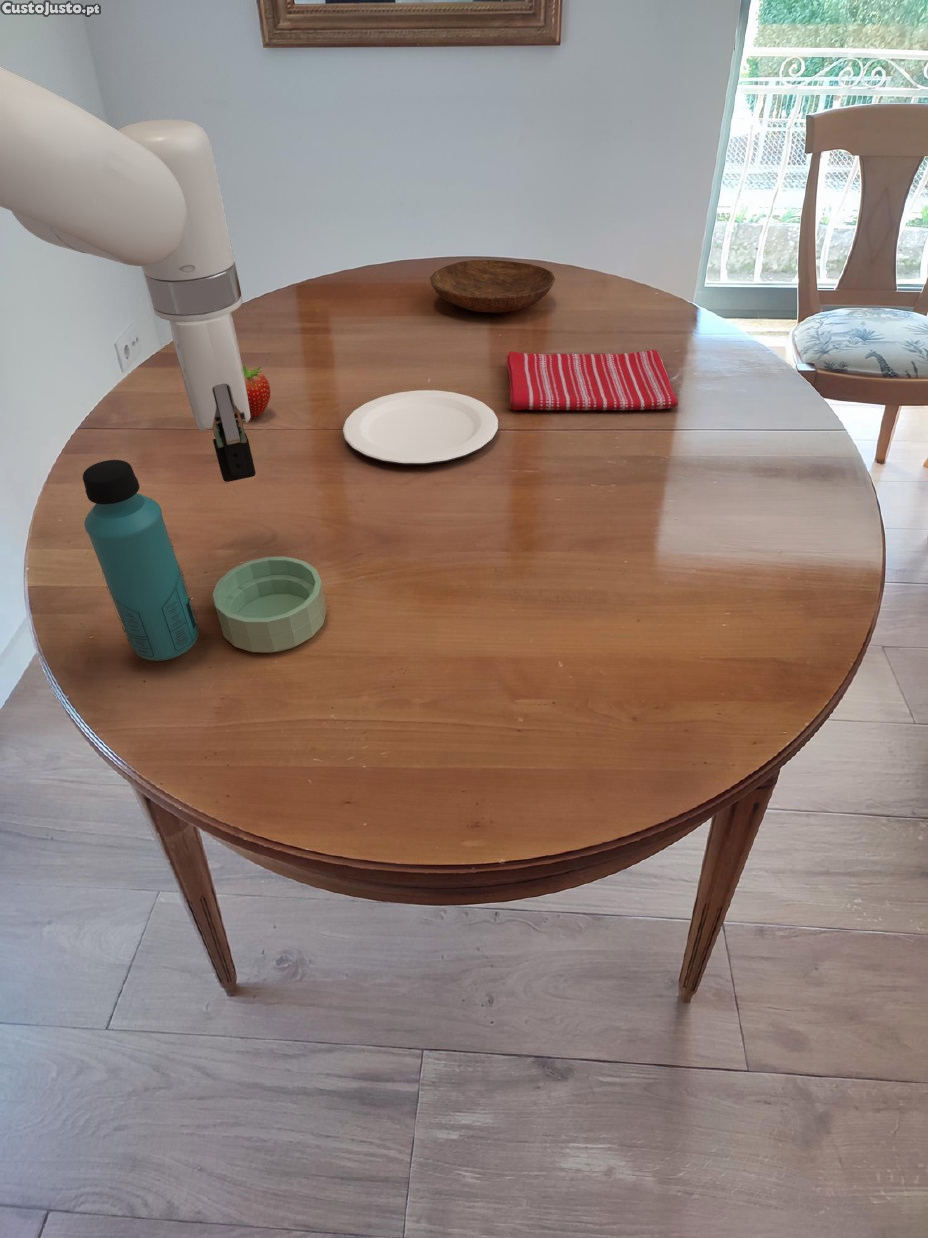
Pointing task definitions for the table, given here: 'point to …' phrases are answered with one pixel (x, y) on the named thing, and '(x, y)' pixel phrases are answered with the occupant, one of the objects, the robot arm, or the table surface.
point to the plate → (420, 427)
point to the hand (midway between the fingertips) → (238, 475)
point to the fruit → (256, 391)
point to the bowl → (492, 285)
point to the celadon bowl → (270, 604)
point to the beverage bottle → (138, 563)
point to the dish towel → (589, 381)
